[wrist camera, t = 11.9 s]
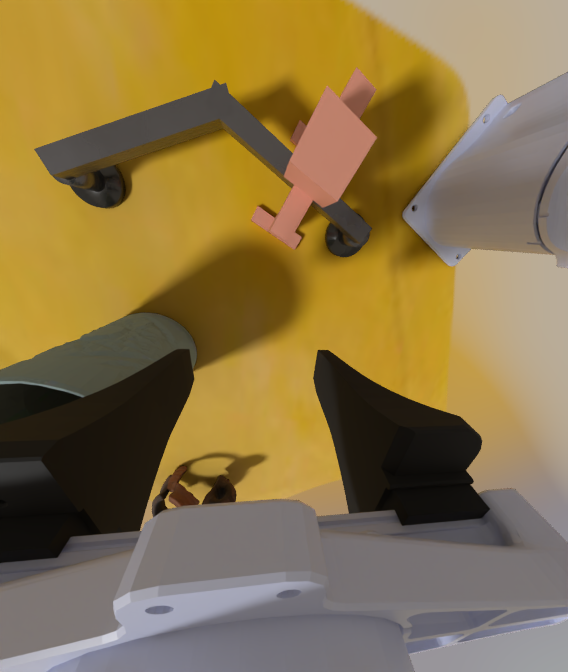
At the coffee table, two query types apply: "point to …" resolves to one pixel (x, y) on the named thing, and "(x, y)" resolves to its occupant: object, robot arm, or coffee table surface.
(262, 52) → the coffee table surface
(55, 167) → the wheeled bent frame
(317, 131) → the pink blocky toy figure
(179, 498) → the vr controller
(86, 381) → the green tapered cup
